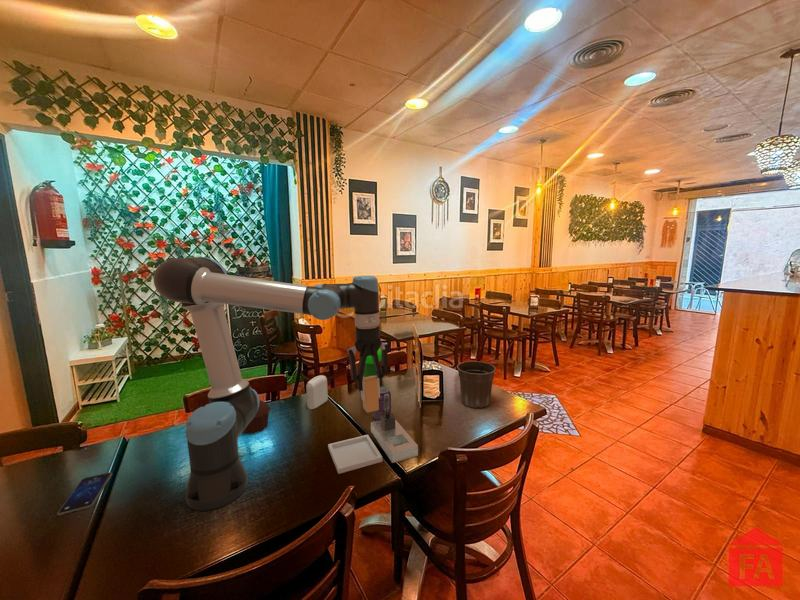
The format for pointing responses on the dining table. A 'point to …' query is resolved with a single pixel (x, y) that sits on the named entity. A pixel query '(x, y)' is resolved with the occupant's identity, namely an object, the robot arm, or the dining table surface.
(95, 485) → the smartphone
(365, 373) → the plastic bottle
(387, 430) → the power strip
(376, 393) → the tan rectangular block
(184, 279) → the robot arm
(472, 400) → the plant pot
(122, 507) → the dining table surface
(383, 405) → the beverage can
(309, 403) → the photo printer
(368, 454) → the tray
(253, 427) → the muffin
